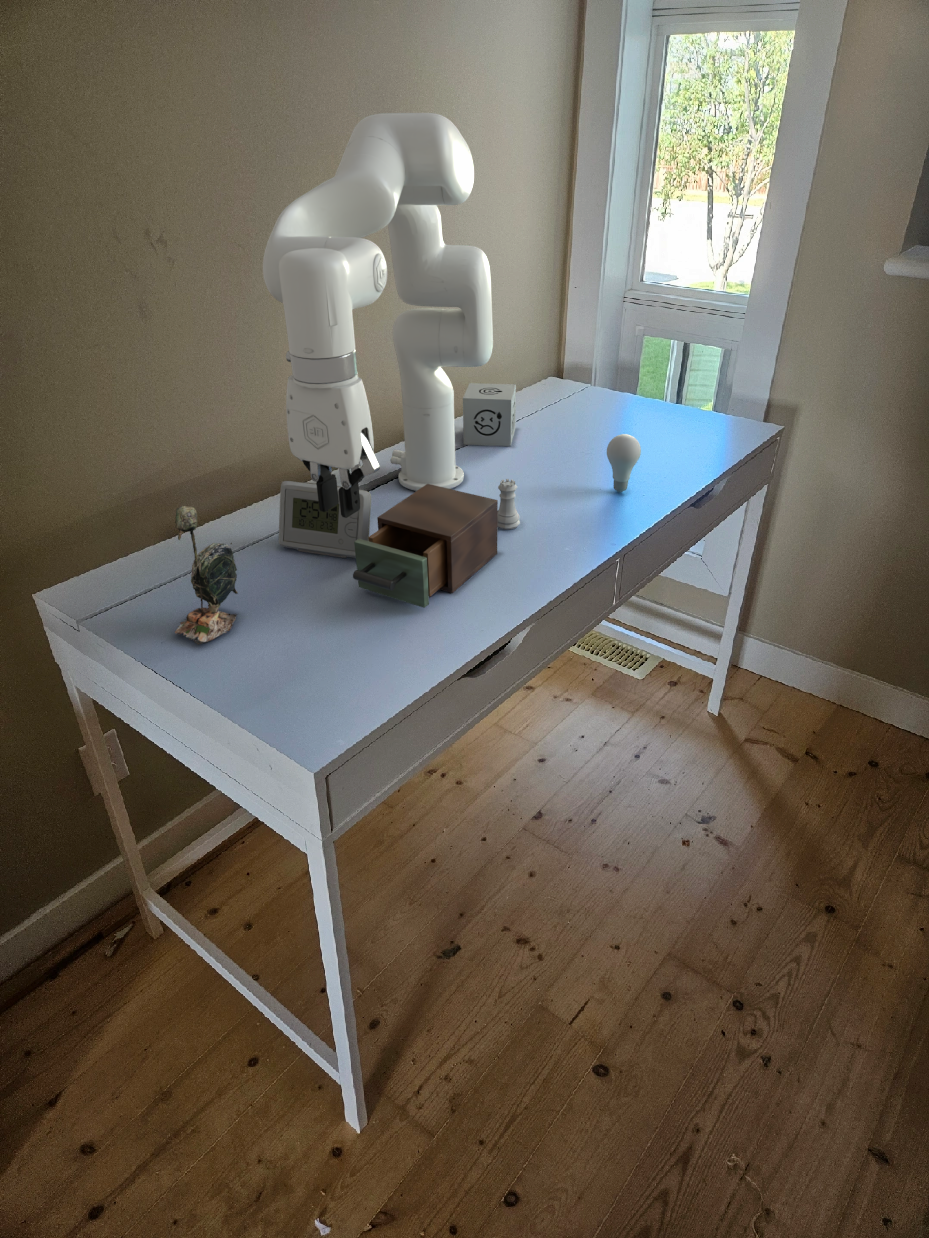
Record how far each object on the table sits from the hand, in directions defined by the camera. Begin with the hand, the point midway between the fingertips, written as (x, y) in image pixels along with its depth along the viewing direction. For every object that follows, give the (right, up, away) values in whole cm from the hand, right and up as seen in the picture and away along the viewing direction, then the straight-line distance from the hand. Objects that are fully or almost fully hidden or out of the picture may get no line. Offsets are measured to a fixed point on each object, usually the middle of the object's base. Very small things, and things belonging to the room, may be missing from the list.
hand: (340, 509), depth 106 cm
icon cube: (+21, +25, +73) cm, 80 cm away
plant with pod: (-20, -15, +13) cm, 28 cm away
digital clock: (-7, -2, +32) cm, 33 cm away
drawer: (+7, -9, +20) cm, 23 cm away
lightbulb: (+45, +9, +48) cm, 67 cm away
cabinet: (+12, -5, +27) cm, 30 cm away
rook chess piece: (+23, +2, +38) cm, 45 cm away
